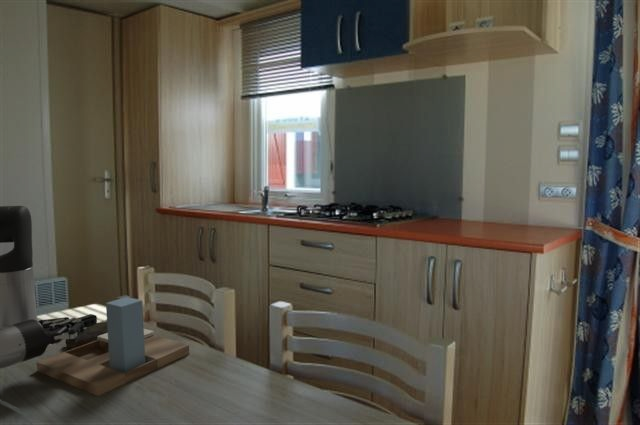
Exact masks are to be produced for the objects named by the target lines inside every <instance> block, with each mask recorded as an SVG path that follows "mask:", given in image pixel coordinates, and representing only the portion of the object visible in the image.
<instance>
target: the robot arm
mask: <svg viewBox="0 0 640 425" xmlns="http://www.w3.org/2000/svg"><path fill="white" fill-rule="evenodd" d="M31 215H32V214H31V212H30V210H29V208H28V207H27V206H24V205H4V206H3V205H2V206H0V244H3V243H13V248H12V249H11V250H10V251H8V252H7V253H3V254H1V255H0V370H3V369H6V368H9V367H12V366H15V365H17V364H20V363H23V362H26V361H29V360H32V359H35V358H37V357H40V356H43V355H44V354H45V352H46V350H47V348H48V347H49V345H57V344H59V343H61V342H62V341H63V340H66V339H69V342H70V343H73V342H76V341H77V340H78V339H79V338H80V337H81V336H82V335H83V334H84V328H87V327H90V326H93V325H96V324H97V323H98V318H97V317H98V316H97V315H96V314H93V313H90V314H86V315H83V316H81V317H78V318H77V317H71V318H70V317H69V316H64V317H57V318H56V317H55V318H48V319H47V318H46V319H40V320H38V315H37V303H36V302H37V299H36V289H35V288H36V287H35V277H34V276H35V275H34V266H33V265H34V264H33V254H34V252H33V227H32V224H33V223H32V216H31Z"/></svg>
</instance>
